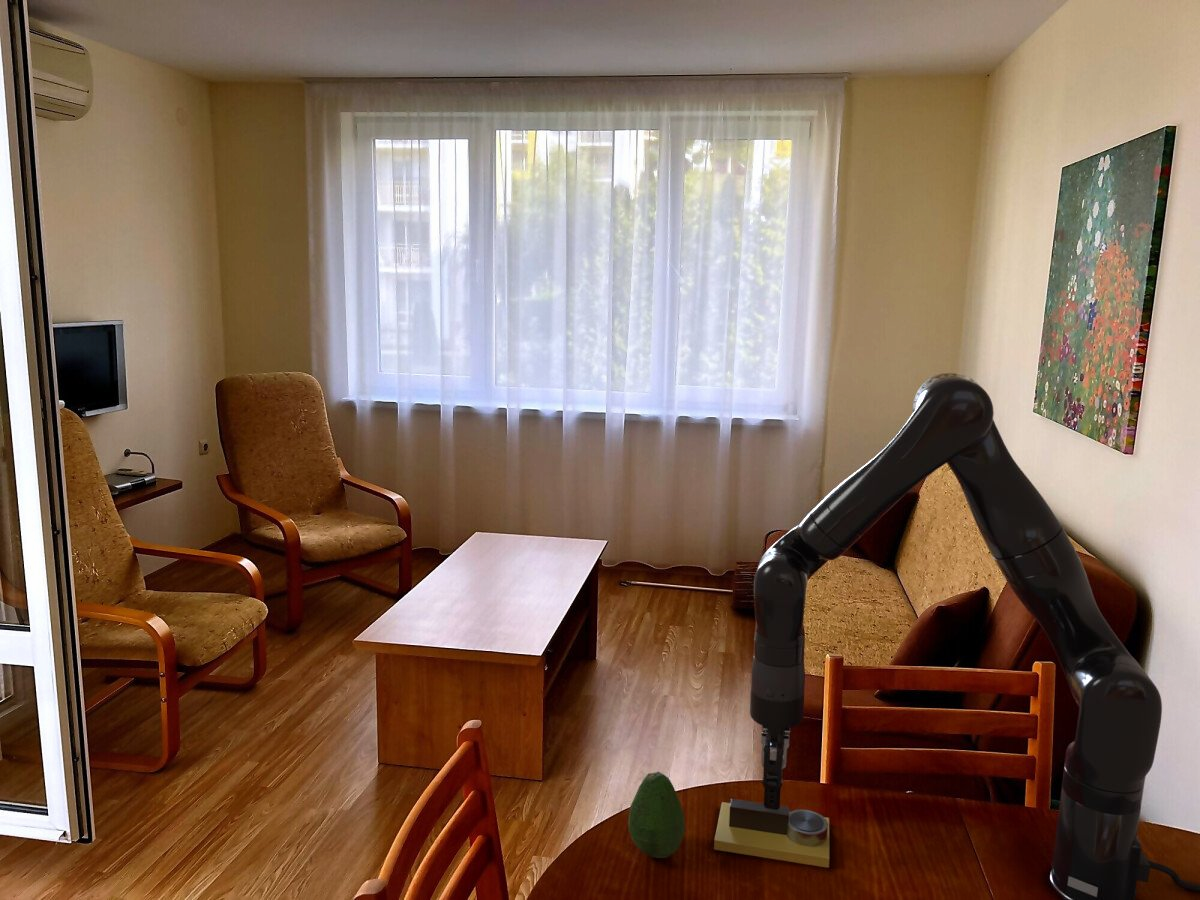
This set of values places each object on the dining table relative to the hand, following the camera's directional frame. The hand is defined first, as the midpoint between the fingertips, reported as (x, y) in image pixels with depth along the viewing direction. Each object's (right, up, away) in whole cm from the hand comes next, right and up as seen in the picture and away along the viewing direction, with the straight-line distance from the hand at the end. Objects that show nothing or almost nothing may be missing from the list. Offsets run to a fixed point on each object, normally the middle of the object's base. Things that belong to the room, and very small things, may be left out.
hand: (773, 791), depth 132 cm
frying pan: (+1, -6, +1) cm, 6 cm away
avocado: (-17, -8, -3) cm, 19 cm away
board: (0, -7, +1) cm, 8 cm away
